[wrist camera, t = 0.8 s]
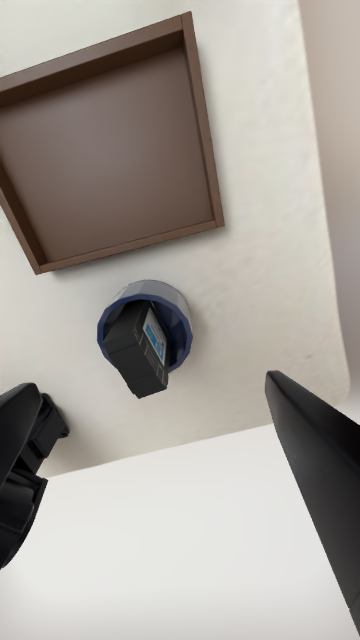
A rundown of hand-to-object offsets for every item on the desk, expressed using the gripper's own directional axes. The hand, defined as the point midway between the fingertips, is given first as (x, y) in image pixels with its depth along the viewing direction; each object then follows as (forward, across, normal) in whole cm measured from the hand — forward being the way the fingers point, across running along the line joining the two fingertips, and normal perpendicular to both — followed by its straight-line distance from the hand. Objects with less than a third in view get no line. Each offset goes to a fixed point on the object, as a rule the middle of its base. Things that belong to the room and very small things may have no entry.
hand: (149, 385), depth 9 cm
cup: (+13, +2, +3) cm, 14 cm away
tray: (+13, +4, -9) cm, 17 cm away
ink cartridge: (+13, +2, +3) cm, 14 cm away
